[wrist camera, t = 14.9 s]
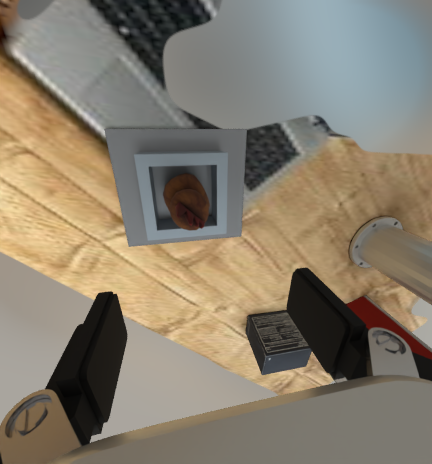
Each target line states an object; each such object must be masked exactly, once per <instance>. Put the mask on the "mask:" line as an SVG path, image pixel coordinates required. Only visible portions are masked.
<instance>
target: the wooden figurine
mask: <svg viewBox="0 0 432 464" xmlns="http://www.w3.org/2000/svg"><path fill="white" fill-rule="evenodd" d="M163 197H164V201H165V204H166V206H167V208H168V210H169V212H170V215H171V217H172V220H173V221H174V222H175V223H176V224H177V225H178V226H179V227H181V228H182V229H185V230H189V231H191V230H197V229H199V228H201V229H202V228H203V227H204V224H205V222H206V221H207V219H208V216H209V208H210V203H209V199H208V196H207V194H206V191H205V189H204V188H203V186H202V184H201V183H200V181H199V180H198V179H197V178H196V176H195V175H192V174H188V173H184V174H181V175H177V176H176V177H174V178H172V179H171V180H170V181H169V182H168V183H167V184H166V185H165V188H164V192H163Z"/></svg>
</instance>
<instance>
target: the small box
mask: <svg viewBox="0 0 432 464" xmlns="http://www.w3.org/2000/svg"><path fill="white" fill-rule="evenodd" d="M246 335H247V337H248V340H249V343H250V345H251V348H252V350H253V353H254V356H255V358H256V361H257V363H258V366H259V369H260V371H261V374H262V375H266V374H270V373H275V372H280V371H285V370H291V369H295V368H300V367H306V365H307V363H308V360H309V357H310V354H311V352H312V350H311V348H310V347H309V345H308V344H307V342H306V341H305V339H304V338H303V336H302V335H301V333H300V332H299V330H298V329H297V327H296V326H295V324H294V322H293V321H292V319H291V318H290V316H289V315H288V313H287V310H285V311H278V312H271V313H263V314H256V315H249V316H248V320H247V327H246Z"/></svg>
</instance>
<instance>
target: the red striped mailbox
mask: <svg viewBox="0 0 432 464" xmlns="http://www.w3.org/2000/svg"><path fill="white" fill-rule="evenodd" d="M346 305H347V306H348V307H349V308H350V309H351V310H352V311H353V312H354V313H355V314H356V315H357V316H358V317H359V318H360V319H361V320H362V321H363V322H364V323H366V327H367V328H368V329H369V330H370V329H371V328H375V327H377V328H384V329H387V330H389V331H392V332H394V333H395V334H397V335H399V336H400V337H401V338H402V339H404V340H405V342H406V343H407V344H408V345H409V347H410V349H411V351H412V352H414V353H417V354H419V355H421V356H424V357H426V358H429V359H431V360H432V349H431V348H430V347H429V346H428V345H426V344H425V343H424V342H422V341H421V340H420V339H419V338H418V337H416V336H415V335H414V334H413V333H412V332H410V331H409V330H408V329H407V328H405V327H404V326H403V325H402V324H400V323H399V322H398V321H397V320H396V319H394V318H393V317H392V316H391V315H389V314H388V313H387V312H386V311H384V310H383V309H382V308H381V307H380V306H378V305H377V304H376V303H375V302H373V301H372V300H371V299H370V298H368V297H367V296H364V297H360V298H358V299H356V300H354V301H352V302H350V303H348V304H346ZM329 374H330V373H329ZM331 377H332V376H331ZM333 380H334V379H333ZM334 381H335V382H336V383H338V382H343V381H347V379H346V378H342V379H337V380H334Z"/></svg>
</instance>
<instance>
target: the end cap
mask: <svg viewBox="0 0 432 464" xmlns="http://www.w3.org/2000/svg"><path fill="white" fill-rule="evenodd" d="M105 134H106V139H107V144H108V149H109V153H110V158H111V163H112V168H113V173H114V178H115V182H116V187H117V192H118V197H119V202H120V206H121V211H122V216H123V221H124V226H125V231H126V235H127V240H128V245H129V247H131V246H142V245H153V244H164V243H174V242H185V241H196V240H207V239H218V238H229V237H240V236H241V232H242V212H243V193H244V173H245V154H246V134H247V129H105ZM184 173H188V174H192V175H195V176H196V178H197V179H198V180H199V181H200V183H201V184H202V186H203V188H204V189H205V191H206V194H207V196H208V199H209V203H210V208H209V216H208V219H207V221H206V222H205V224H204V227H203V228H202V229H201V228H199V229H197V230H191V231H189V230H185V229H182V228H181V227H179V226H178V225H177V224H176V223H175V222H174V221H173V220H172V217H171V215H170V212H169V210H168V208H167V206H166V204H165V201H164V197H163V192H164V188H165V185H166V184H167V183H168V182H169V181H170V180H171V179H172V178H174V177H176V176H177V175H181V174H184Z"/></svg>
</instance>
